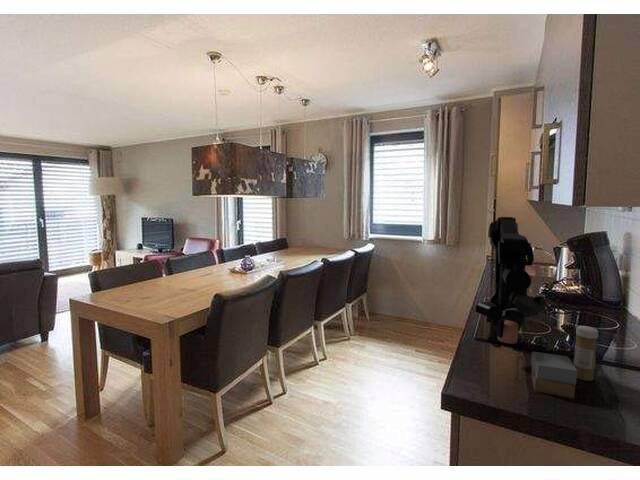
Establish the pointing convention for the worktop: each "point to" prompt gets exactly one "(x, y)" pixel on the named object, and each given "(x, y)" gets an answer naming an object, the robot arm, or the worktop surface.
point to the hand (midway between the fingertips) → (507, 336)
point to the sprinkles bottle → (585, 352)
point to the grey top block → (554, 367)
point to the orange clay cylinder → (509, 332)
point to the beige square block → (553, 387)
